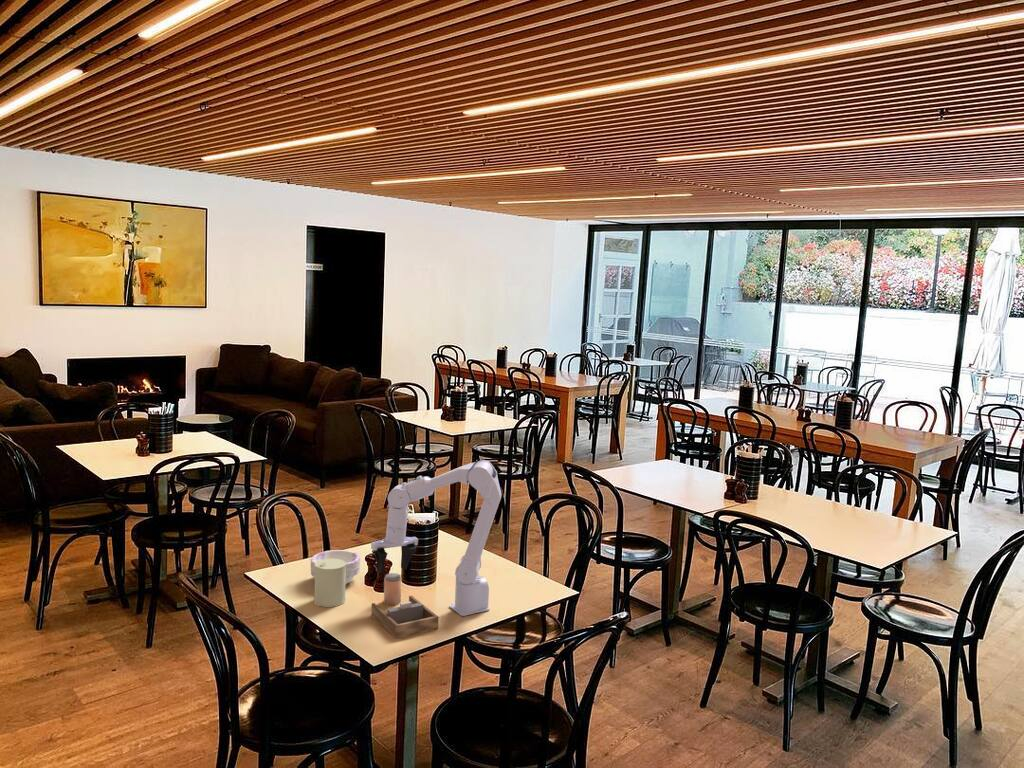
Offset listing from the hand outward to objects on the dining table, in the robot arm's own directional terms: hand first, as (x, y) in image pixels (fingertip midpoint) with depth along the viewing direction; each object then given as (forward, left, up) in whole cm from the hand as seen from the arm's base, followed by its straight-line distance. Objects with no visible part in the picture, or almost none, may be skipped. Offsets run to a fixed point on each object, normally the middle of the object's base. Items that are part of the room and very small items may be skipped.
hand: (392, 570), depth 238 cm
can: (+16, -10, -10) cm, 21 cm away
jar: (0, -1, -10) cm, 10 cm away
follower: (+3, +14, -9) cm, 17 cm away
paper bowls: (+9, -24, -10) cm, 27 cm away
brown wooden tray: (+3, +13, -10) cm, 17 cm away
